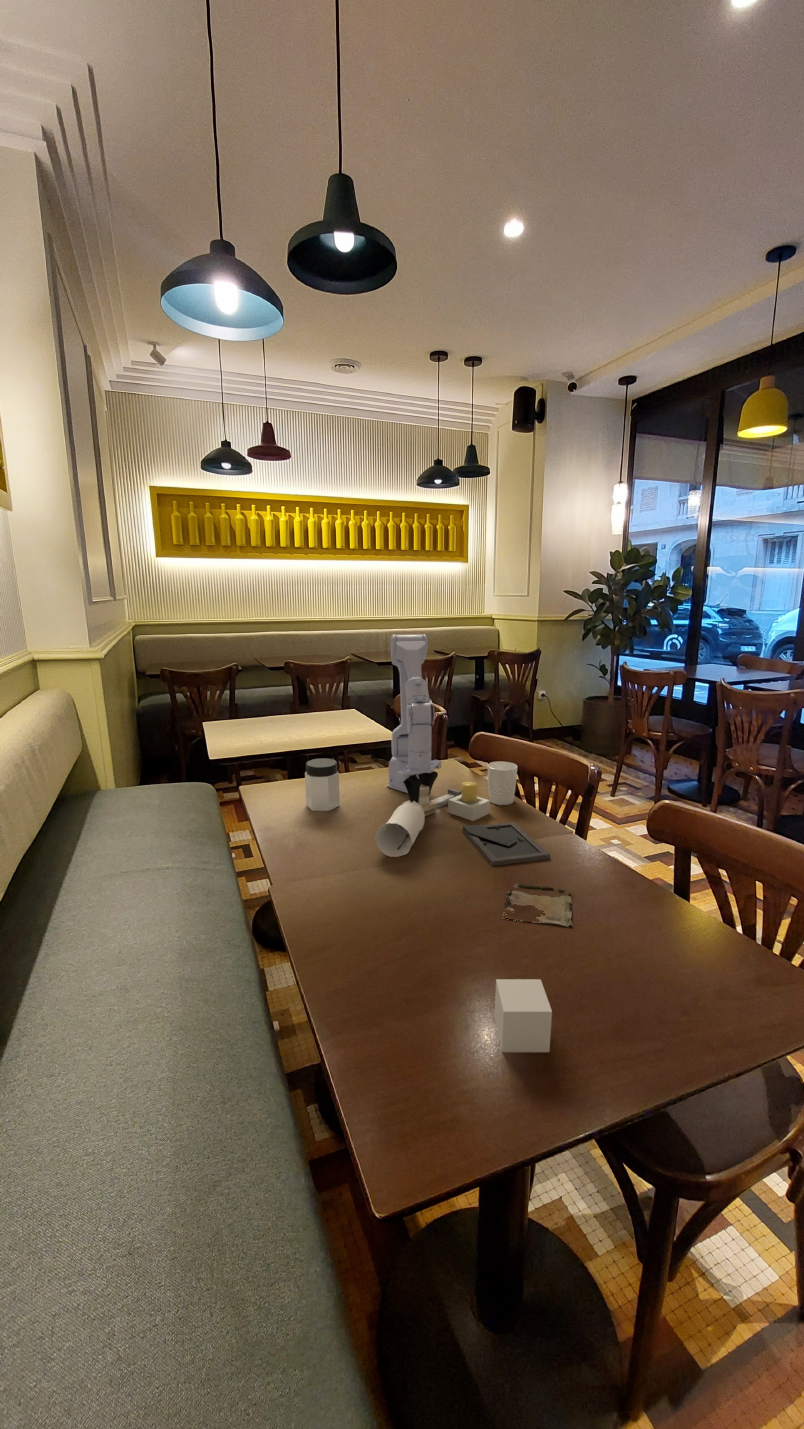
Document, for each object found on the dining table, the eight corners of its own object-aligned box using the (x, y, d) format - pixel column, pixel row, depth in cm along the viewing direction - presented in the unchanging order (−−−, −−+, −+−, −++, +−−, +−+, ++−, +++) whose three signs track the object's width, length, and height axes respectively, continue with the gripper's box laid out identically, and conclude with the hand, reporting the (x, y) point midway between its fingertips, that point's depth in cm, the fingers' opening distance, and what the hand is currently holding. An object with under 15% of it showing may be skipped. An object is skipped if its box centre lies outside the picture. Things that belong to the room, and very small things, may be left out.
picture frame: (462, 833, 138) (492, 868, 121) (462, 825, 137) (492, 859, 120) (513, 827, 141) (549, 861, 124) (514, 820, 140) (550, 852, 123)
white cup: (480, 798, 159) (482, 763, 157) (504, 794, 162) (506, 759, 160) (497, 808, 152) (498, 771, 150) (521, 803, 155) (523, 767, 153)
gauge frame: (448, 812, 149) (448, 799, 148) (464, 805, 154) (465, 792, 153) (473, 821, 143) (473, 807, 143) (489, 813, 148) (490, 800, 147)
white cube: (501, 1053, 72) (503, 1011, 71) (494, 1018, 78) (495, 979, 77) (549, 1052, 72) (552, 1011, 71) (538, 1017, 78) (540, 979, 77)
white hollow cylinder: (431, 826, 141) (432, 795, 139) (410, 860, 123) (410, 825, 121) (400, 822, 143) (400, 792, 141) (375, 855, 125) (375, 821, 123)
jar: (302, 803, 155) (300, 760, 153) (331, 797, 159) (329, 756, 156) (313, 814, 148) (312, 769, 145) (343, 808, 151) (342, 764, 149)
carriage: (402, 812, 148) (402, 786, 147) (418, 805, 152) (418, 781, 151) (420, 818, 144) (421, 792, 142) (436, 812, 148) (436, 786, 147)
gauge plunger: (458, 799, 148) (458, 784, 147) (467, 795, 150) (468, 780, 150) (470, 803, 145) (471, 788, 144) (480, 798, 148) (480, 784, 147)
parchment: (572, 893, 110) (572, 888, 110) (573, 931, 98) (573, 926, 98) (507, 884, 114) (507, 880, 113) (500, 920, 101) (500, 915, 101)
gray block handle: (400, 816, 146) (400, 807, 145) (451, 796, 160) (451, 788, 159) (411, 820, 144) (411, 811, 143) (461, 799, 158) (461, 791, 157)
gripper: (411, 759, 137) (411, 812, 140) (450, 746, 147) (449, 797, 150) (390, 753, 142) (391, 805, 145) (429, 741, 152) (429, 790, 155)
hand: (419, 800), depth 148 cm, fingers closed on carriage, 3 cm apart
